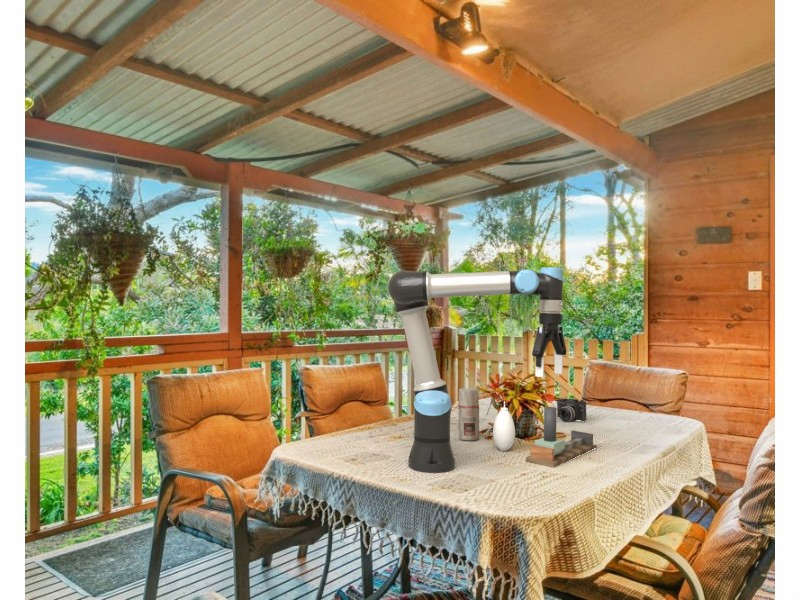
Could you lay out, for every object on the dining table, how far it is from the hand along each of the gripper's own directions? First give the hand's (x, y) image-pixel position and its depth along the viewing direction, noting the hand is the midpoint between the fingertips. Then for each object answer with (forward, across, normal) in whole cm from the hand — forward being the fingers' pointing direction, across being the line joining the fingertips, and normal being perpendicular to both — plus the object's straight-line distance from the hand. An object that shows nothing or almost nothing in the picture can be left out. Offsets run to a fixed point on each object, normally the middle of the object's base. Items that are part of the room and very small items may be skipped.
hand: (549, 375), depth 190 cm
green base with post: (+26, 0, 0) cm, 26 cm away
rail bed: (+29, +10, -1) cm, 31 cm away
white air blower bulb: (+29, 0, +18) cm, 34 cm away
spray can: (+29, +6, +36) cm, 47 cm away
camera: (+29, +70, +26) cm, 80 cm away
